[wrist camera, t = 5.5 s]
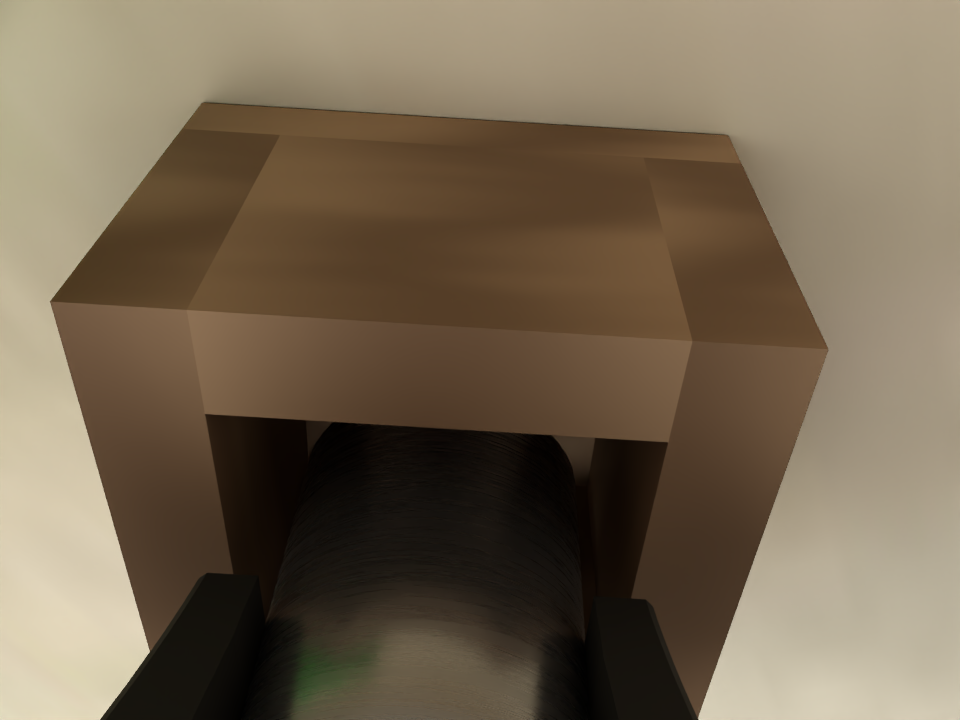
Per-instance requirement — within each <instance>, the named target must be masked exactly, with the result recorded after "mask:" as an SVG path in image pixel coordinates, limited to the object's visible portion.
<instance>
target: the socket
mask: <svg viewBox="0 0 960 720" xmlns="http://www.w3.org/2000/svg"><path fill="white" fill-rule="evenodd" d="M50 303H51V306H52V310H53V313H54V317H55V320H56V324H57V327H58V331H59V334H60V338H61V341H62V345H63V348H64V352H65V355H66V359H67V362H68V366H69V369H70V373H71V376H72V380H73V383H74V387H75V390H76V394H77V397H78V401H79V404H80V408H81V411H82V415H83V418H84V422H85V425H86V429H87V432H88V436H89V439H90V443H91V446H92V450H93V453H94V457H95V460H96V464H97V467H98V471H99V474H100V478H101V481H102V485H103V488H104V492H105V495H106V499H107V502H108V506H109V509H110V513H111V516H112V520H113V523H114V527H115V530H116V534H117V537H118V541H119V544H120V548H121V551H122V555H123V558H124V562H125V565H126V569H127V572H128V576H129V579H130V583H131V587H132V590H133V594H134V597H135V601H136V604H137V608H138V611H139V615H140V618H141V622H142V625H143V629H144V632H145V636H146V639H147V643H148V646H149V650H150V651H151V650H152V648H153V647H154V646H155V644H156V643H157V641H158V640H159V638H160V637H161V635H162V634H163V632H164V631H165V630H166V628H167V627H168V625H169V624H170V622H171V621H172V619H173V618H174V616H175V615H176V613H177V612H178V610H179V608H180V607H181V605H182V604H183V602H184V601H185V599H186V598H187V596H188V595H189V593H190V591H191V590H192V588H193V587H194V585H195V584H196V582H197V580H198V579H199V578H200V577H201V576H203V575H204V574H206V573H222V574H239V575H255V576H259V583H260V590H261V596H262V603H263V609H264V616H265V623H266V621H267V617H268V613H269V609H270V605H271V601H272V598H273V594H274V590H275V586H276V582H277V579H278V575H279V571H280V567H281V563H282V560H283V556H284V552H285V548H286V544H287V541H288V537H289V533H290V529H291V525H292V521H293V518H294V514H295V510H296V506H297V502H298V499H299V495H300V491H301V487H302V483H303V480H304V476H305V472H306V468H307V464H308V461H309V457H310V454H311V452H312V450H313V447H314V445H315V443H316V442H317V440H318V439H319V437H320V436H321V434H322V433H323V432H324V431H325V430H326V429H327V428H328V427H329V426H330V425H331V424H332V423H333V422H345V423H361V424H378V425H394V426H410V427H427V428H443V429H459V430H476V431H492V432H509V433H525V434H541V435H552V436H553V437H554V438H555V439H556V440H557V441H558V443H559V444H560V446H561V447H562V449H563V450H564V452H565V453H566V455H567V457H568V459H569V461H570V464H571V466H572V469H573V473H574V477H575V487H576V503H577V518H578V534H579V550H580V565H581V581H582V597H583V612H584V628H585V639H586V634H587V629H588V624H589V618H590V613H591V608H592V603H593V598H594V596H600V597H616V598H632V599H646V600H647V601H648V602H649V603H650V604H651V605H652V606H653V608H654V611H655V614H656V617H657V620H658V623H659V625H660V628H661V631H662V634H663V636H664V639H665V642H666V644H667V647H668V649H669V652H670V655H671V657H672V660H673V662H674V665H675V667H676V669H677V672H678V674H679V677H680V679H681V682H682V684H683V686H684V688H685V691H686V693H687V695H688V698H689V700H690V702H691V704H692V707H693V709H694V711H695V713H696V716H697V718H698V716H699V713H700V710H701V707H702V704H703V702H704V699H705V696H706V693H707V690H708V688H709V685H710V682H711V679H712V676H713V673H714V671H715V668H716V665H717V662H718V659H719V657H720V654H721V651H722V648H723V645H724V642H725V640H726V637H727V634H728V631H729V628H730V626H731V623H732V620H733V617H734V614H735V611H736V609H737V606H738V603H739V600H740V597H741V595H742V592H743V589H744V586H745V583H746V580H747V578H748V575H749V572H750V569H751V566H752V564H753V561H754V558H755V555H756V552H757V549H758V547H759V544H760V541H761V538H762V535H763V533H764V530H765V527H766V524H767V521H768V518H769V516H770V513H771V510H772V507H773V504H774V502H775V499H776V496H777V493H778V490H779V487H780V485H781V482H782V479H783V476H784V473H785V471H786V468H787V465H788V462H789V459H790V456H791V454H792V451H793V448H794V445H795V442H796V440H797V437H798V434H799V431H800V428H801V425H802V423H803V420H804V417H805V414H806V411H807V409H808V406H809V403H810V400H811V397H812V394H813V392H814V389H815V386H816V383H817V380H818V378H819V375H820V372H821V369H822V366H823V364H824V361H825V358H826V355H827V352H828V347H827V345H826V343H825V341H824V339H823V337H822V335H821V333H820V330H819V328H818V326H817V324H816V322H815V320H814V318H813V315H812V313H811V311H810V309H809V307H808V305H807V303H806V301H805V298H804V296H803V294H802V292H801V290H800V288H799V286H798V283H797V281H796V279H795V277H794V275H793V273H792V271H791V269H790V266H789V264H788V262H787V260H786V258H785V256H784V254H783V252H782V249H781V247H780V245H779V243H778V241H777V239H776V237H775V234H774V232H773V230H772V228H771V226H770V224H769V222H768V220H767V217H766V215H765V213H764V211H763V209H762V207H761V205H760V203H759V200H758V198H757V196H756V194H755V192H754V190H753V188H752V185H751V183H750V181H749V179H748V177H747V175H746V173H745V171H744V168H743V166H742V164H741V162H740V160H739V158H738V156H737V153H736V151H735V149H734V147H733V145H732V143H731V141H730V139H729V136H727V135H711V134H695V133H679V132H662V131H646V130H630V129H614V128H598V127H582V126H566V125H550V124H534V123H518V122H502V121H486V120H470V119H453V118H437V117H421V116H405V115H389V114H373V113H357V112H341V111H325V110H309V109H293V108H277V107H260V106H244V105H228V104H212V103H202V104H201V105H200V106H199V108H198V109H197V110H196V112H195V113H194V114H193V115H192V117H191V118H190V119H189V121H188V122H187V123H186V125H185V126H184V127H183V129H182V130H181V131H180V132H179V134H178V135H177V136H176V138H175V139H174V140H173V142H172V143H171V144H170V146H169V147H168V148H167V149H166V151H165V152H164V153H163V155H162V156H161V157H160V159H159V160H158V161H157V163H156V164H155V165H154V167H153V168H152V169H151V170H150V172H149V173H148V174H147V176H146V177H145V178H144V180H143V181H142V182H141V184H140V185H139V186H138V187H137V189H136V190H135V191H134V193H133V194H132V195H131V197H130V198H129V199H128V201H127V202H126V203H125V204H124V206H123V207H122V208H121V210H120V211H119V212H118V214H117V215H116V216H115V218H114V219H113V220H112V221H111V223H110V224H109V225H108V227H107V228H106V229H105V231H104V232H103V233H102V235H101V236H100V237H99V238H98V240H97V241H96V242H95V244H94V245H93V246H92V248H91V249H90V250H89V252H88V253H87V254H86V255H85V257H84V258H83V259H82V261H81V262H80V263H79V265H78V266H77V267H76V269H75V270H74V271H73V272H72V274H71V275H70V276H69V278H68V279H67V280H66V282H65V283H64V284H63V286H62V287H61V288H60V289H59V291H58V292H57V293H56V295H55V296H54V297H53V299H52V300H51V301H50Z"/></svg>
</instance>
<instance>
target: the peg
mask: <svg viewBox="0 0 960 720" xmlns="http://www.w3.org/2000/svg"><path fill="white" fill-rule="evenodd" d="M241 720H589V706H588V690H587V674H586V658H585V628H584V612H583V597H582V581H581V565H580V550H579V534H578V518H577V503H576V487H575V477H574V473H573V469H572V466H571V464H570V461H569V459H568V457H567V455H566V453H565V452H564V450H563V449H562V447H561V446H560V444H559V443H558V441H557V440H556V439H555V438H554V437H553V436H552V435H541V434H525V433H509V432H492V431H476V430H459V429H443V428H427V427H410V426H394V425H378V424H361V423H345V422H333V423H332V424H331V425H330V426H329V427H328V428H327V429H326V430H325V431H324V432H323V433H322V434H321V436H320V437H319V439H318V440H317V442H316V443H315V445H314V447H313V450H312V452H311V454H310V457H309V461H308V464H307V468H306V472H305V476H304V480H303V483H302V487H301V491H300V495H299V499H298V502H297V506H296V510H295V514H294V518H293V521H292V525H291V529H290V533H289V537H288V541H287V544H286V548H285V552H284V556H283V560H282V563H281V567H280V571H279V575H278V579H277V582H276V586H275V590H274V594H273V598H272V601H271V605H270V609H269V613H268V617H267V621H266V624H265V628H264V632H263V636H262V640H261V643H260V647H259V651H258V655H257V659H256V662H255V666H254V670H253V674H252V678H251V681H250V685H249V689H248V693H247V697H246V701H245V704H244V708H243V712H242V716H241Z"/></svg>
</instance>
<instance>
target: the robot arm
mask: <svg viewBox="0 0 960 720" xmlns="http://www.w3.org/2000/svg"><path fill="white" fill-rule="evenodd" d="M265 624H266V623H265V616H264V609H263V603H262V596H261V590H260V583H259V576H255V575H239V574H222V573H206V574H204V575H203V576H201V577H200V578H199V579H198V580H197V582H196V584H195V585H194V587H193V588H192V590H191V591H190V593H189V595H188V596H187V598H186V599H185V601H184V602H183V604H182V605H181V607H180V608H179V610H178V612H177V613H176V615H175V616H174V618H173V619H172V621H171V622H170V624H169V625H168V627H167V628H166V630H165V631H164V632H163V634H162V635H161V637H160V638H159V640H158V641H157V643H156V644H155V646H154V647H153V648H152V650H151V651H150V653H149V654H148V655H147V657H146V658H145V660H144V661H143V663H142V664H141V665H140V667H139V668H138V670H137V671H136V672H135V674H134V675H133V677H132V678H131V679H130V681H129V682H128V683H127V685H126V686H125V688H124V689H123V690H122V691H121V693H120V694H119V695H118V697H117V698H116V699H115V701H114V702H113V703H112V705H111V706H110V707H109V709H108V710H107V711H106V713H105V714H104V715H103V717H102V718H101V719H100V720H241V716H242V712H243V708H244V704H245V701H246V697H247V693H248V689H249V685H250V681H251V678H252V674H253V670H254V666H255V662H256V659H257V655H258V651H259V647H260V643H261V640H262V636H263V632H264V628H265ZM585 658H586V674H587V690H588V706H589V720H698V718H697V716H696V713H695V711H694V709H693V707H692V704H691V702H690V700H689V698H688V695H687V693H686V691H685V688H684V686H683V684H682V682H681V679H680V677H679V674H678V672H677V669H676V667H675V665H674V662H673V660H672V657H671V655H670V652H669V649H668V647H667V644H666V642H665V639H664V636H663V634H662V631H661V628H660V625H659V623H658V620H657V617H656V614H655V611H654V608H653V606H652V605H651V604H650V603H649V602H648V601H647V600H646V599H632V598H616V597H600V596H594V598H593V603H592V608H591V613H590V618H589V624H588V629H587V634H586V639H585Z"/></svg>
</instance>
